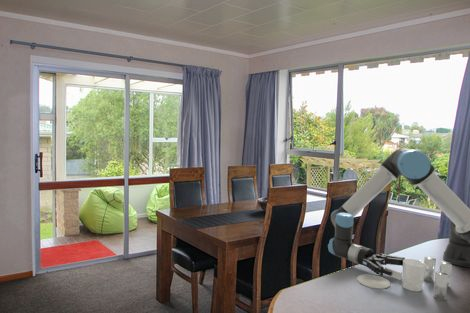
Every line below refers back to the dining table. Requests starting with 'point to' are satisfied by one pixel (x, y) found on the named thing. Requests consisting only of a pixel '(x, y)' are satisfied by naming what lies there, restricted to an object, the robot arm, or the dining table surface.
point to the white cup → (413, 274)
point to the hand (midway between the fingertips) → (410, 272)
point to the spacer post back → (446, 270)
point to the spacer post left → (429, 269)
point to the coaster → (373, 281)
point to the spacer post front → (440, 286)
